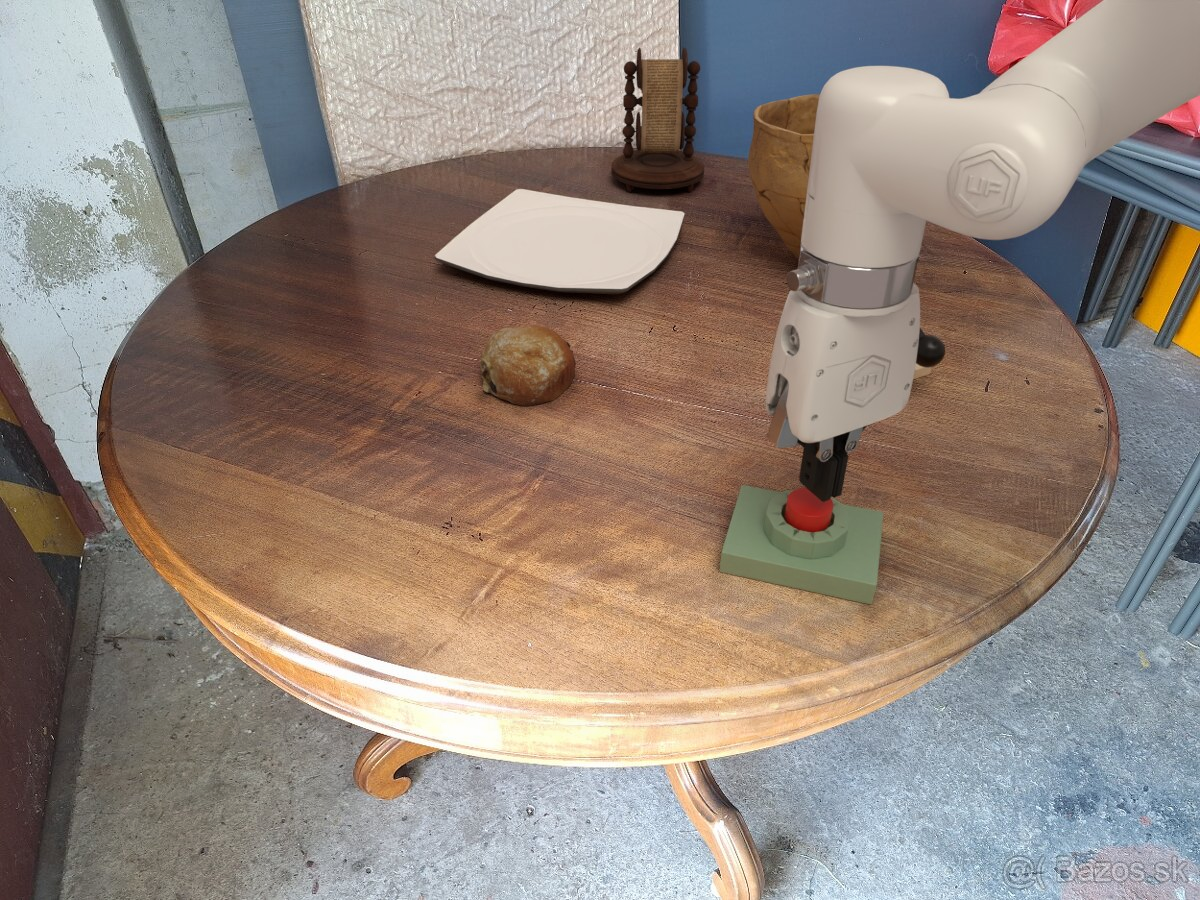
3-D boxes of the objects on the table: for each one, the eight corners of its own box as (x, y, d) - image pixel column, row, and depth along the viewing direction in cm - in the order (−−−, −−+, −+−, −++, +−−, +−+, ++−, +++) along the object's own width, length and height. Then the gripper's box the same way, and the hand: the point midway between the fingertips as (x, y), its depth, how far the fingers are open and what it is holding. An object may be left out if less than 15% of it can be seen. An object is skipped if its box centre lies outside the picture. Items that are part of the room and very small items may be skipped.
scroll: (613, 198, 137) (615, 60, 125) (609, 166, 149) (610, 36, 137) (709, 198, 138) (720, 60, 126) (697, 165, 149) (706, 36, 137)
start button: (832, 508, 73) (835, 492, 72) (827, 537, 70) (831, 520, 69) (787, 500, 74) (790, 483, 73) (781, 527, 71) (784, 511, 70)
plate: (632, 316, 107) (632, 296, 105) (420, 278, 115) (418, 259, 113) (695, 227, 128) (697, 210, 127) (514, 201, 136) (513, 184, 135)
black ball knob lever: (940, 369, 90) (957, 350, 88) (916, 377, 89) (933, 358, 86) (871, 273, 95) (885, 253, 93) (848, 279, 94) (861, 259, 91)
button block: (878, 531, 76) (888, 494, 74) (871, 605, 69) (881, 567, 67) (739, 503, 79) (743, 467, 77) (718, 572, 72) (723, 535, 70)
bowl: (725, 288, 113) (740, 127, 101) (750, 227, 128) (766, 81, 116) (895, 311, 108) (932, 144, 96) (900, 245, 124) (932, 95, 112)
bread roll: (479, 400, 98) (447, 354, 92) (542, 337, 101) (515, 288, 95) (536, 439, 93) (506, 392, 86) (602, 371, 95) (577, 321, 89)
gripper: (799, 320, 54) (770, 548, 64) (981, 268, 59) (926, 487, 70) (728, 274, 59) (712, 491, 70) (901, 230, 64) (861, 438, 75)
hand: (819, 488), depth 70 cm, fingers closed
